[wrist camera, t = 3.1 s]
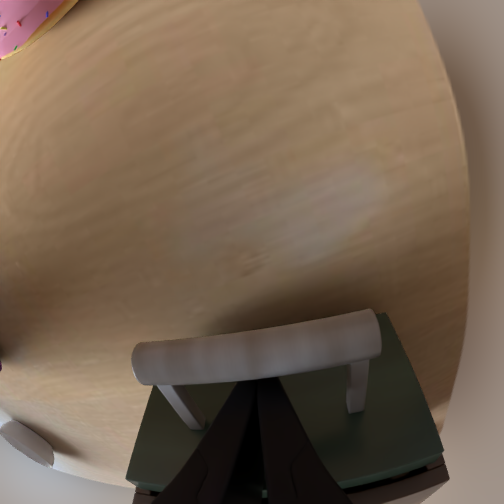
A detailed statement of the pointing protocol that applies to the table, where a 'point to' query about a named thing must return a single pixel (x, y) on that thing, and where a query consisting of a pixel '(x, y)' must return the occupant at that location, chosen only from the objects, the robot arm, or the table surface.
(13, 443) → the saucepan
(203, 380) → the drawer
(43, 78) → the table surface
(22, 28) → the doughnut
